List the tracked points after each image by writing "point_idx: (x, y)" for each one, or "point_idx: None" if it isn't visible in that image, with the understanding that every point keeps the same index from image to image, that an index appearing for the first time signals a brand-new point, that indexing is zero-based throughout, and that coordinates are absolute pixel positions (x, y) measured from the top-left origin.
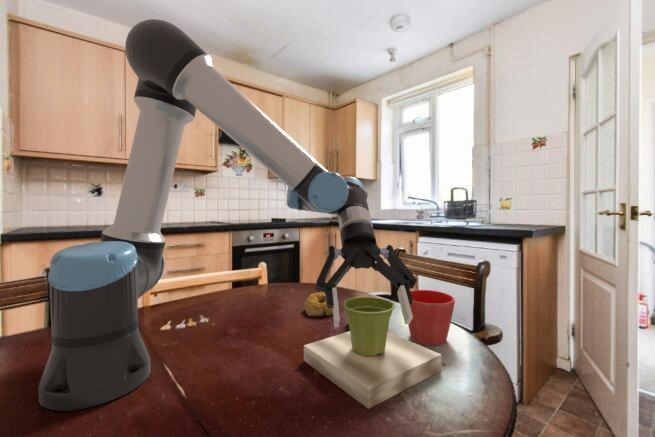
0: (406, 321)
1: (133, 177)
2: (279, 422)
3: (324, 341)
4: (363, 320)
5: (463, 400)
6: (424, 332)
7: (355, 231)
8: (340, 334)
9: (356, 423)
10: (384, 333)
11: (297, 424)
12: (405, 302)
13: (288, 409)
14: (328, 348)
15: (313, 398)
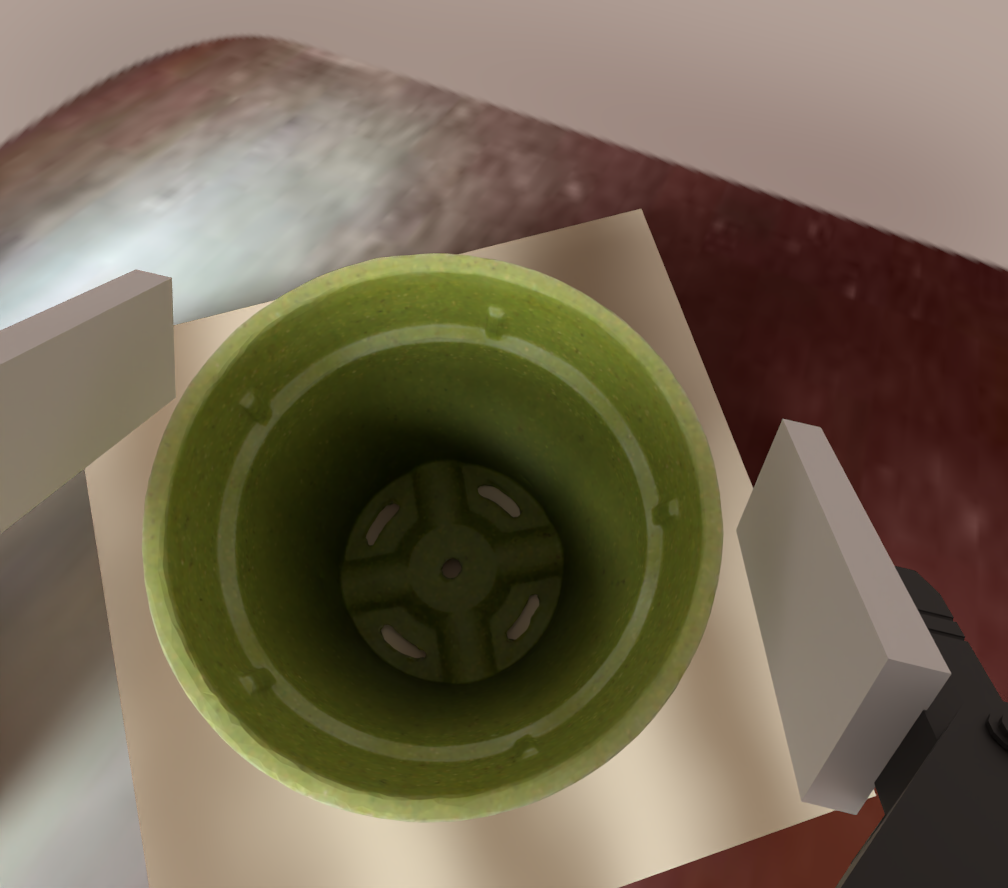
0: (173, 355)
1: None
2: (981, 303)
3: (710, 809)
4: (577, 364)
5: (219, 177)
6: None
7: None
8: None
9: (699, 207)
10: (384, 410)
11: (914, 271)
12: (70, 326)
13: (944, 362)
14: (712, 678)
15: (829, 396)
